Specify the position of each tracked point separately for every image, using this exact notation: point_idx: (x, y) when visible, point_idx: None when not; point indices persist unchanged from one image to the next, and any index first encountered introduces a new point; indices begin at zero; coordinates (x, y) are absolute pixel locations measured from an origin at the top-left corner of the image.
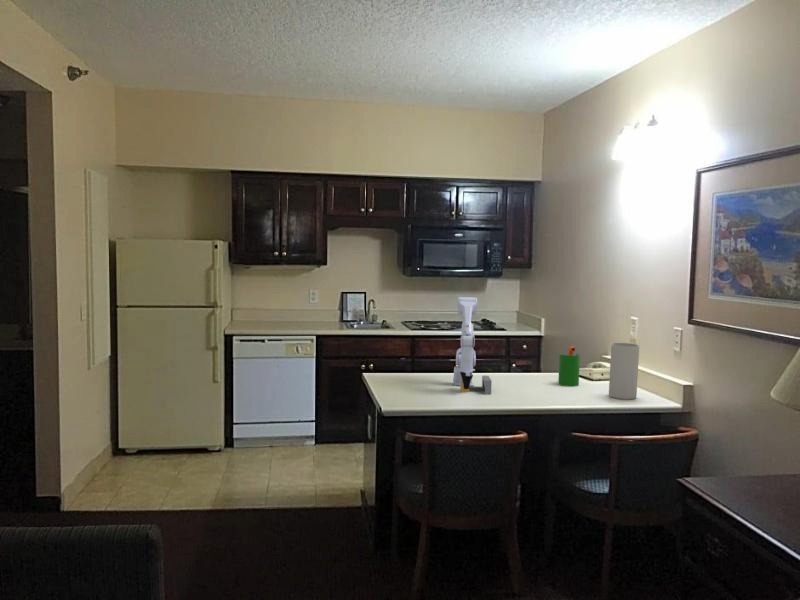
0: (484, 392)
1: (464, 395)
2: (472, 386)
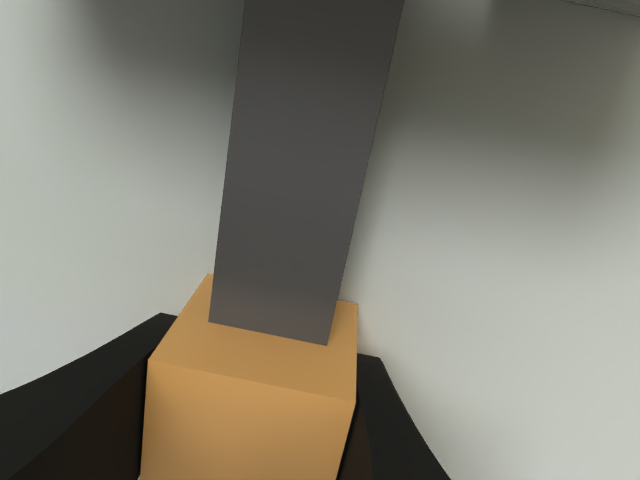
0: (601, 4)
1: (634, 466)
2: (239, 241)
